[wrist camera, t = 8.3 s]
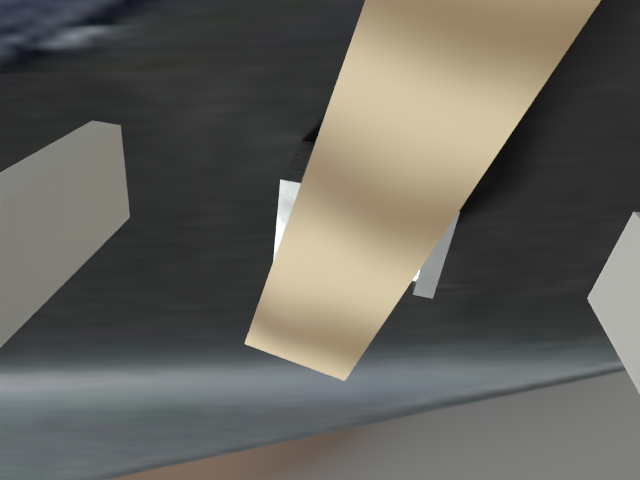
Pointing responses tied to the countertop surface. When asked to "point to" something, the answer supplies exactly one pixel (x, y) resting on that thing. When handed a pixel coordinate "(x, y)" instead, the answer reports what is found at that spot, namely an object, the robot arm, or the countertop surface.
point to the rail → (401, 161)
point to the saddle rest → (288, 191)
